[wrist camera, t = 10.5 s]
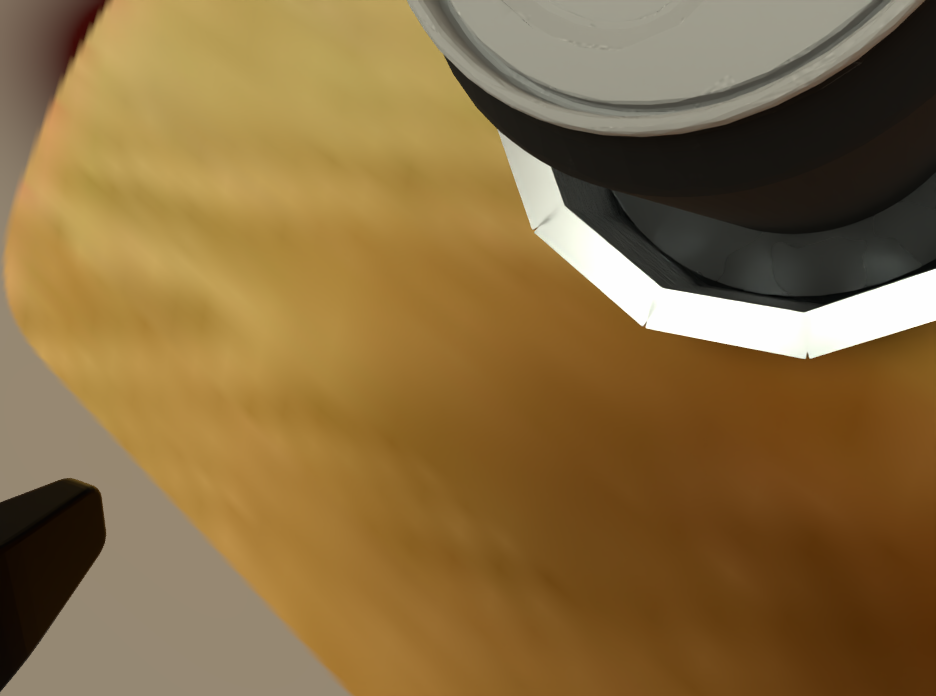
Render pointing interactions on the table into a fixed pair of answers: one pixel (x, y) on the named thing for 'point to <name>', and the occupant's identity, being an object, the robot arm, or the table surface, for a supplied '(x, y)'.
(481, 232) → the table surface
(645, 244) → the can holder
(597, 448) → the table surface
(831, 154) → the beverage can
